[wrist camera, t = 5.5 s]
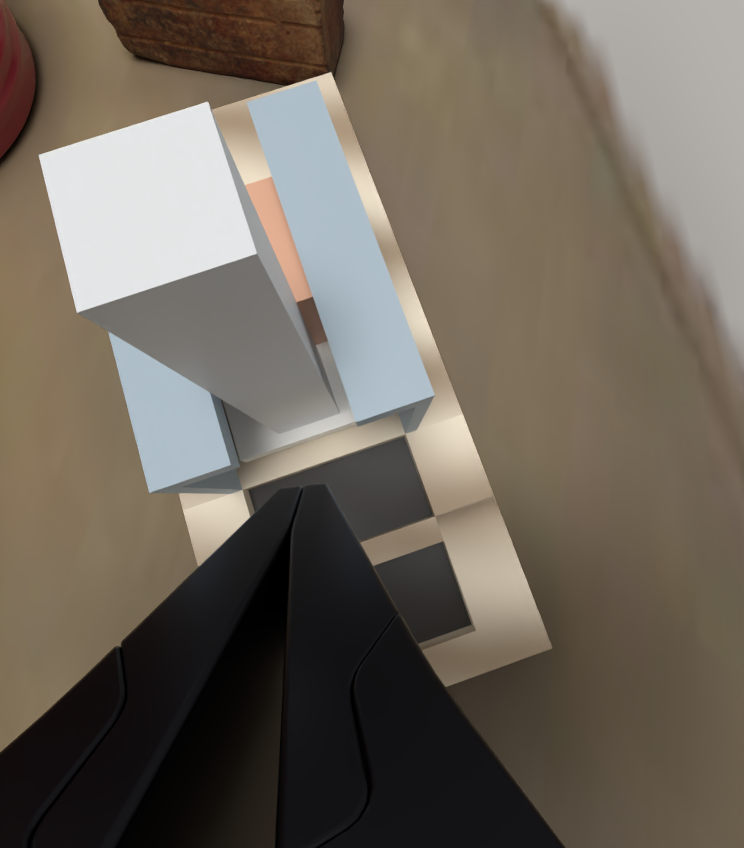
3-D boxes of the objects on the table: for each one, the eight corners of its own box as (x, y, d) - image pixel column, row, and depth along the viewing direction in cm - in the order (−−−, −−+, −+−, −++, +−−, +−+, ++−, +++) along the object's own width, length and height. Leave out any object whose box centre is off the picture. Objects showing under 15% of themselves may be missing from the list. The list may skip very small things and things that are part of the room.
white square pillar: (385, 414, 18) (392, 245, 6) (246, 462, 18) (-46, 389, 6) (319, 226, 20) (213, -225, 7) (189, 268, 19) (-142, -122, 7)
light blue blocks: (417, 430, 18) (435, 395, 12) (230, 493, 18) (149, 492, 12) (337, 210, 20) (316, 80, 14) (165, 267, 20) (65, 159, 13)
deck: (543, 639, 18) (552, 648, 17) (256, 743, 17) (249, 758, 16) (333, 91, 22) (331, 72, 21) (100, 164, 22) (87, 148, 21)
